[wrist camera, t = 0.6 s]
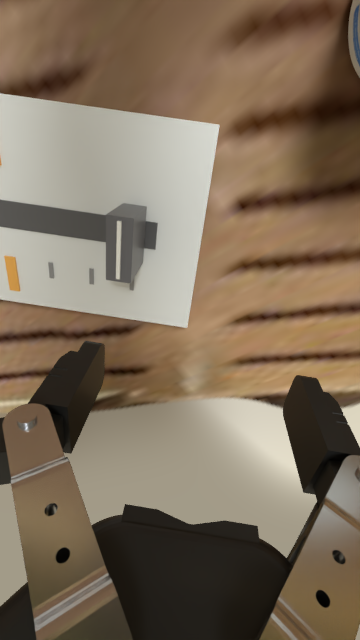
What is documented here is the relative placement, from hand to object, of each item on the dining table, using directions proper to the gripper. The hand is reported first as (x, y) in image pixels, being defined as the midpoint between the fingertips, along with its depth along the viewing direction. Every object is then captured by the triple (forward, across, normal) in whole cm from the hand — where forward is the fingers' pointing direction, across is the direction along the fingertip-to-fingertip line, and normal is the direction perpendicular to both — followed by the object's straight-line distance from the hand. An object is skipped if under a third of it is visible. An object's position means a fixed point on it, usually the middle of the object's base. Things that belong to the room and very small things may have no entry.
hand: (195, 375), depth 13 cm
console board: (+19, +14, 0) cm, 24 cm away
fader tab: (+17, +6, -1) cm, 18 cm away
